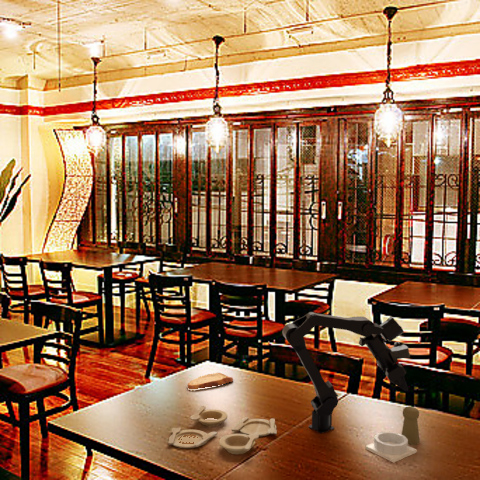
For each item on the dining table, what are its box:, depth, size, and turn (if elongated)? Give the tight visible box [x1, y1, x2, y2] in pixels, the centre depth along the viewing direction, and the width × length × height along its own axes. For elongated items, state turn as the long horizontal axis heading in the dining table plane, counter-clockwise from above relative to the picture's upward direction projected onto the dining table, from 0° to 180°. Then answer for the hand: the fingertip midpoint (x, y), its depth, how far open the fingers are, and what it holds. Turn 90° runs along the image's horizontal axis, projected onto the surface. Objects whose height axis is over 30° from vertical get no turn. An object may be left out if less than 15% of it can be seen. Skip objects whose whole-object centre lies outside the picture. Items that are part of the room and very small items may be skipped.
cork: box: [401, 406, 421, 446], centre depth 184 cm, size 6×6×11 cm
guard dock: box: [365, 431, 417, 464], centre depth 177 cm, size 11×11×4 cm
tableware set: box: [167, 405, 278, 455], centre depth 189 cm, size 35×29×4 cm
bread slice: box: [187, 372, 234, 389], centre depth 238 cm, size 18×18×4 cm
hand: (403, 386), depth 194 cm, fingers open, 9 cm apart
